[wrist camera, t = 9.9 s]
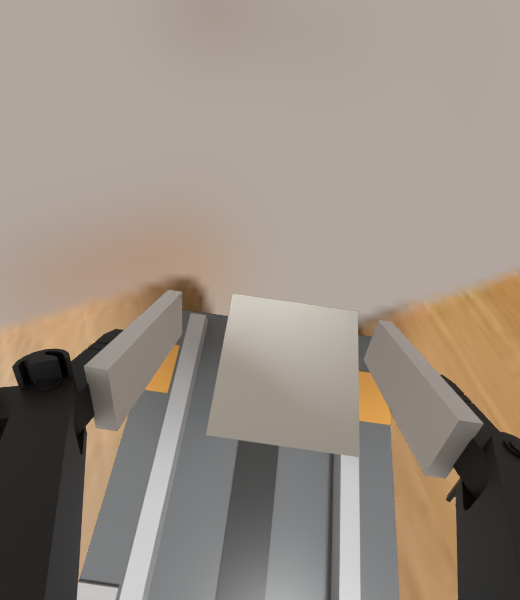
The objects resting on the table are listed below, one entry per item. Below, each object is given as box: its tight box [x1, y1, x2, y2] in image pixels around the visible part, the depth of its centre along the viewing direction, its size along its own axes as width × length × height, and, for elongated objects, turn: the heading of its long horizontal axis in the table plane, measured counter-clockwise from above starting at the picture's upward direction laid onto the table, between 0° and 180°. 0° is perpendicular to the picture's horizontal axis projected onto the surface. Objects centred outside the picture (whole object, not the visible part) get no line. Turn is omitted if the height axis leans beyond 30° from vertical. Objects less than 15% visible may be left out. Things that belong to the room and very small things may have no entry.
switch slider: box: [206, 294, 360, 457], centre depth 11 cm, size 5×5×9 cm
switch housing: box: [77, 310, 400, 600], centre depth 15 cm, size 16×20×4 cm
